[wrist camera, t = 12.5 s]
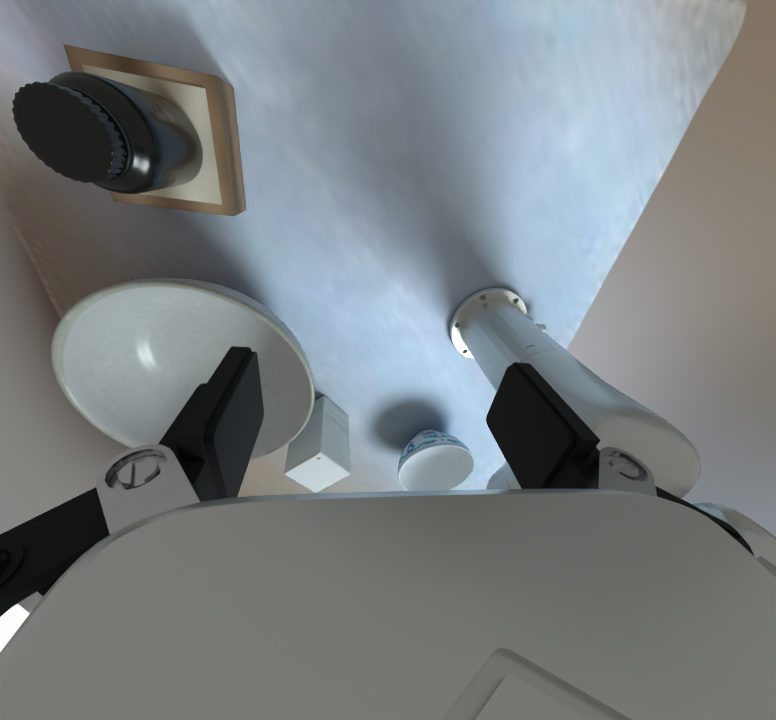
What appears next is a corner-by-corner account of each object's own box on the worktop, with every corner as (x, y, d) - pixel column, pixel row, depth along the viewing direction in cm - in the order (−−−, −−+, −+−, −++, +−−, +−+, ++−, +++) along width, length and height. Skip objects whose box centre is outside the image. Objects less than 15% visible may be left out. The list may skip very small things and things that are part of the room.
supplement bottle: (100, 105, 25) (-55, 69, 15) (176, 83, 25) (70, 33, 15) (153, 194, 29) (58, 212, 19) (220, 176, 29) (158, 184, 19)
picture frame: (233, 87, 29) (215, 75, 25) (246, 209, 35) (233, 216, 31) (105, 61, 27) (61, 43, 23) (141, 196, 33) (112, 201, 29)
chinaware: (475, 425, 62) (490, 455, 56) (437, 468, 69) (446, 499, 63) (414, 406, 57) (424, 437, 51) (380, 455, 64) (384, 487, 57)
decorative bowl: (311, 413, 55) (305, 469, 45) (143, 400, 48) (92, 463, 38) (330, 270, 41) (326, 306, 31) (96, 227, 34) (-3, 254, 24)
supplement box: (292, 413, 54) (281, 473, 44) (324, 393, 52) (320, 451, 42) (319, 434, 58) (314, 494, 48) (350, 417, 56) (352, 475, 46)
